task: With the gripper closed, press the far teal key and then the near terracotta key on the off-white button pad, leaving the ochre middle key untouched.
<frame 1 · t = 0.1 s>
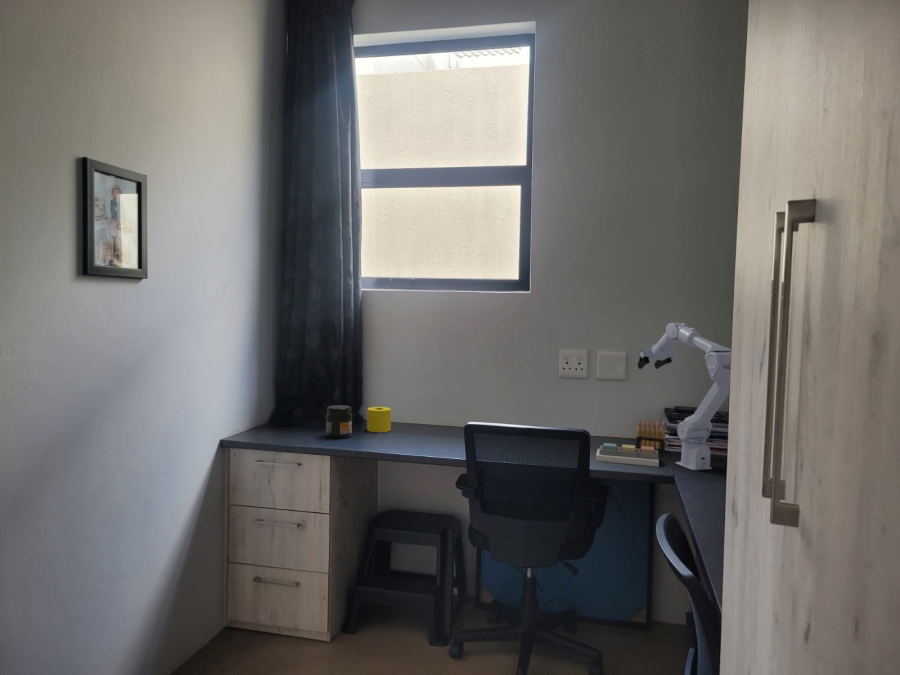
hand: (647, 366, 239), 32 cm above the table, tool tilted 50°, fingers open, 7 cm apart
ammunition clip: (650, 450, 237), on the table
terracotta key: (647, 450, 218), point 4 cm above the table, slide at 0.0 cm
teal key: (609, 447, 222), point 4 cm above the table, slide at 0.0 cm
button pad: (628, 460, 220), on the table
tape roll: (378, 431, 262), on the table
ochre key: (628, 448, 220), point 4 cm above the table, slide at 0.0 cm
supplement container: (338, 436, 249), on the table
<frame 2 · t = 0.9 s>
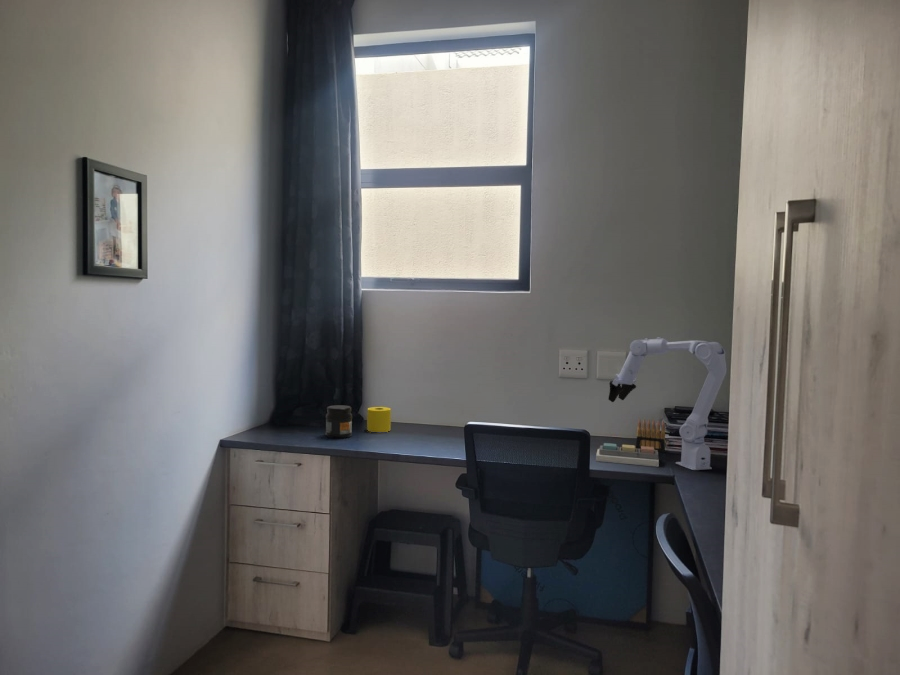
hand: (615, 399, 234), 20 cm above the table, tool tilted 25°, fingers open, 7 cm apart
nothing on the table moved.
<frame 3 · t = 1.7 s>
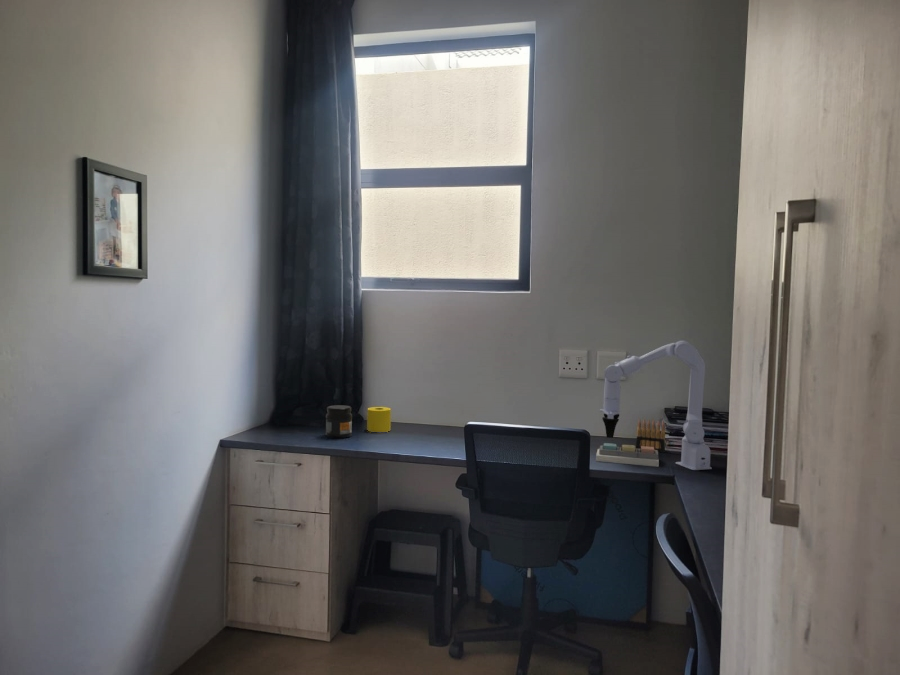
hand: (610, 435, 222), 8 cm above the table, tool pointing down, fingers open, 7 cm apart
nothing on the table moved.
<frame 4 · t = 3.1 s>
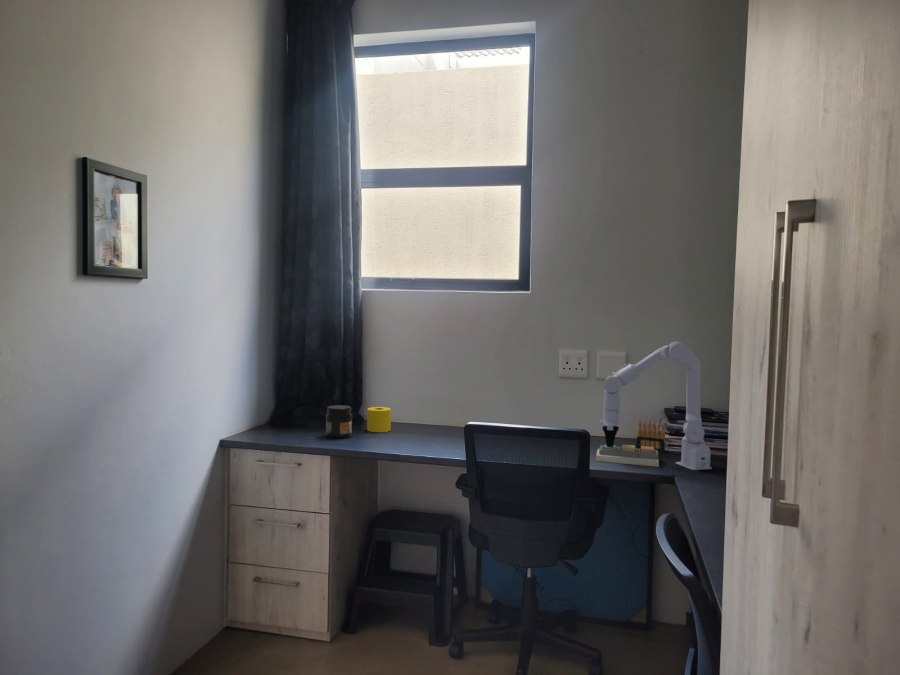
hand: (609, 446, 222), 4 cm above the table, tool pointing down, fingers closed, pressing on teal key
teal key: (609, 448, 222), point 4 cm above the table, slide at 0.6 cm, touching gripper
everything else where it was.
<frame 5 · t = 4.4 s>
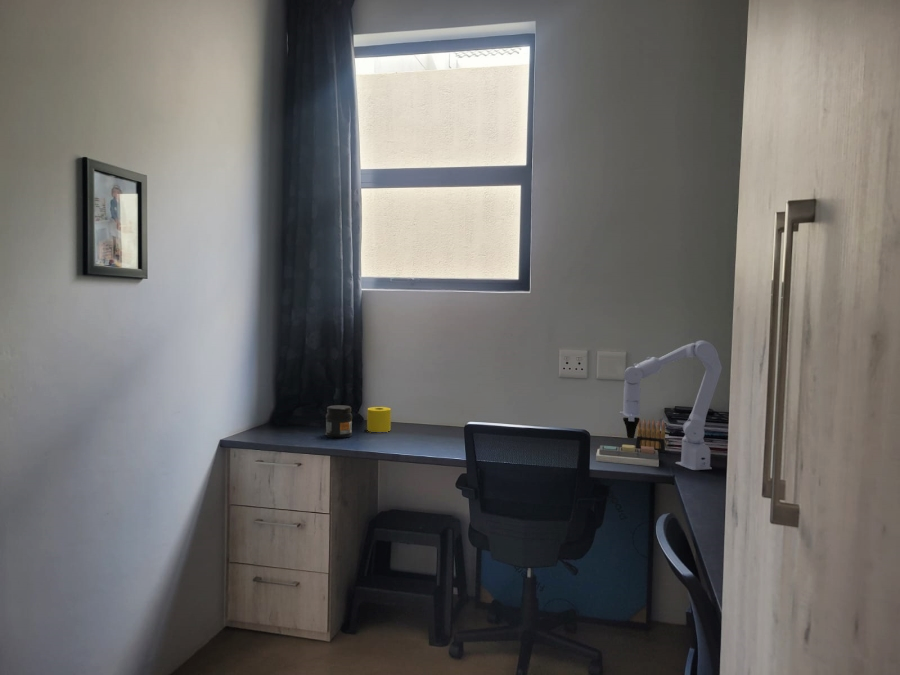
hand: (630, 437, 220), 8 cm above the table, tool pointing down, fingers closed
teal key: (609, 449, 222), point 3 cm above the table, slide at 1.0 cm
everything else where it was.
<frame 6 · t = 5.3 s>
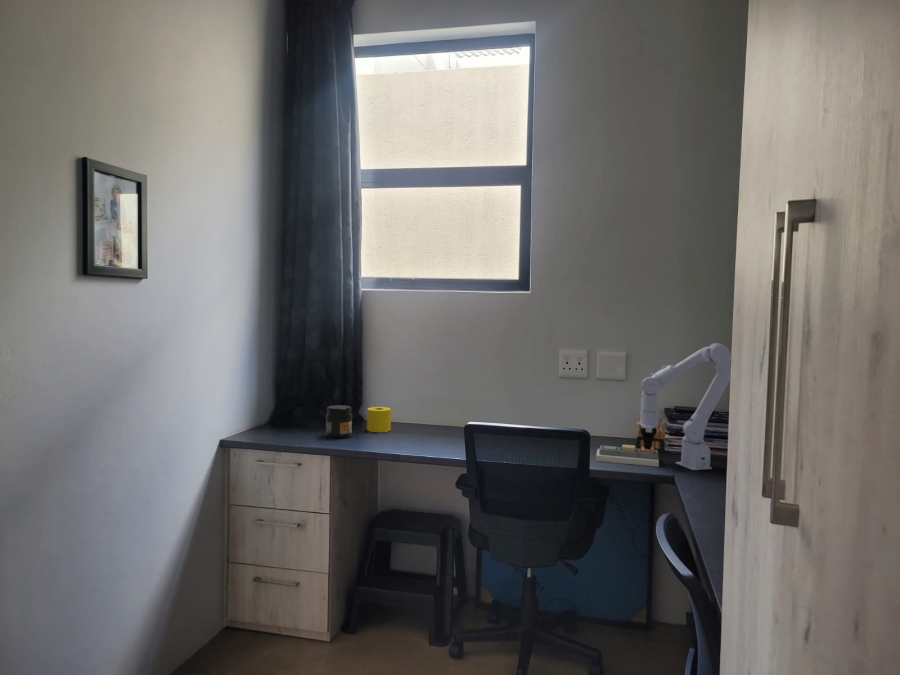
hand: (647, 448, 218), 5 cm above the table, tool pointing down, fingers closed, pressing on terracotta key
terracotta key: (647, 451, 218), point 4 cm above the table, slide at 0.3 cm, touching gripper
everything else where it was.
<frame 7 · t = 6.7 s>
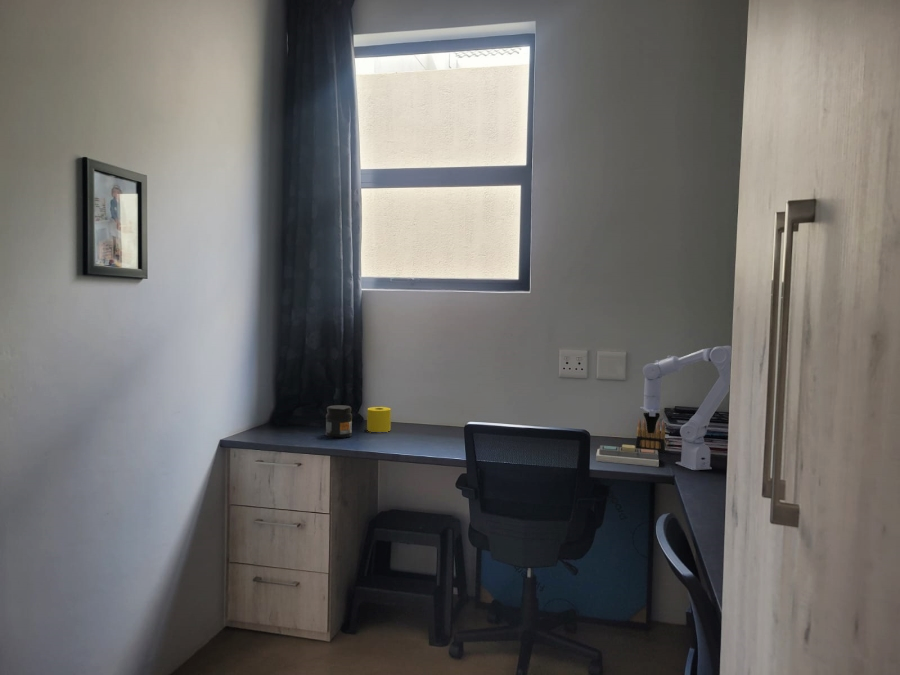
hand: (650, 432, 224), 9 cm above the table, tool pointing down, fingers closed
terracotta key: (647, 453, 218), point 3 cm above the table, slide at 1.0 cm
everything else where it was.
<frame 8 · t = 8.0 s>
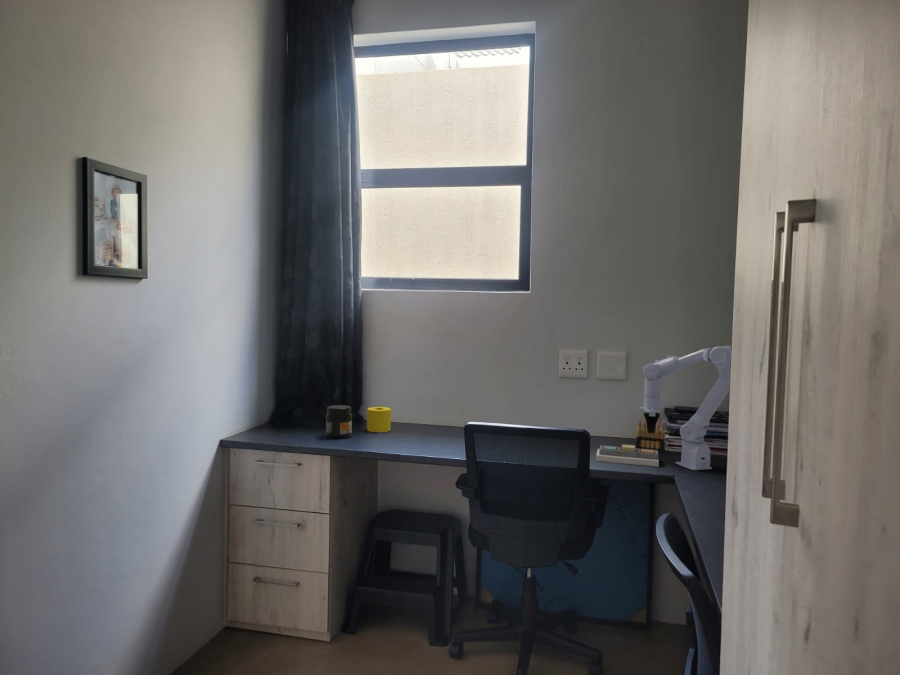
hand: (650, 432, 224), 9 cm above the table, tool pointing down, fingers closed
nothing on the table moved.
at the end: teal key slide at 1.0 cm; terracotta key slide at 1.0 cm; ochre key slide at 0.0 cm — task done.
